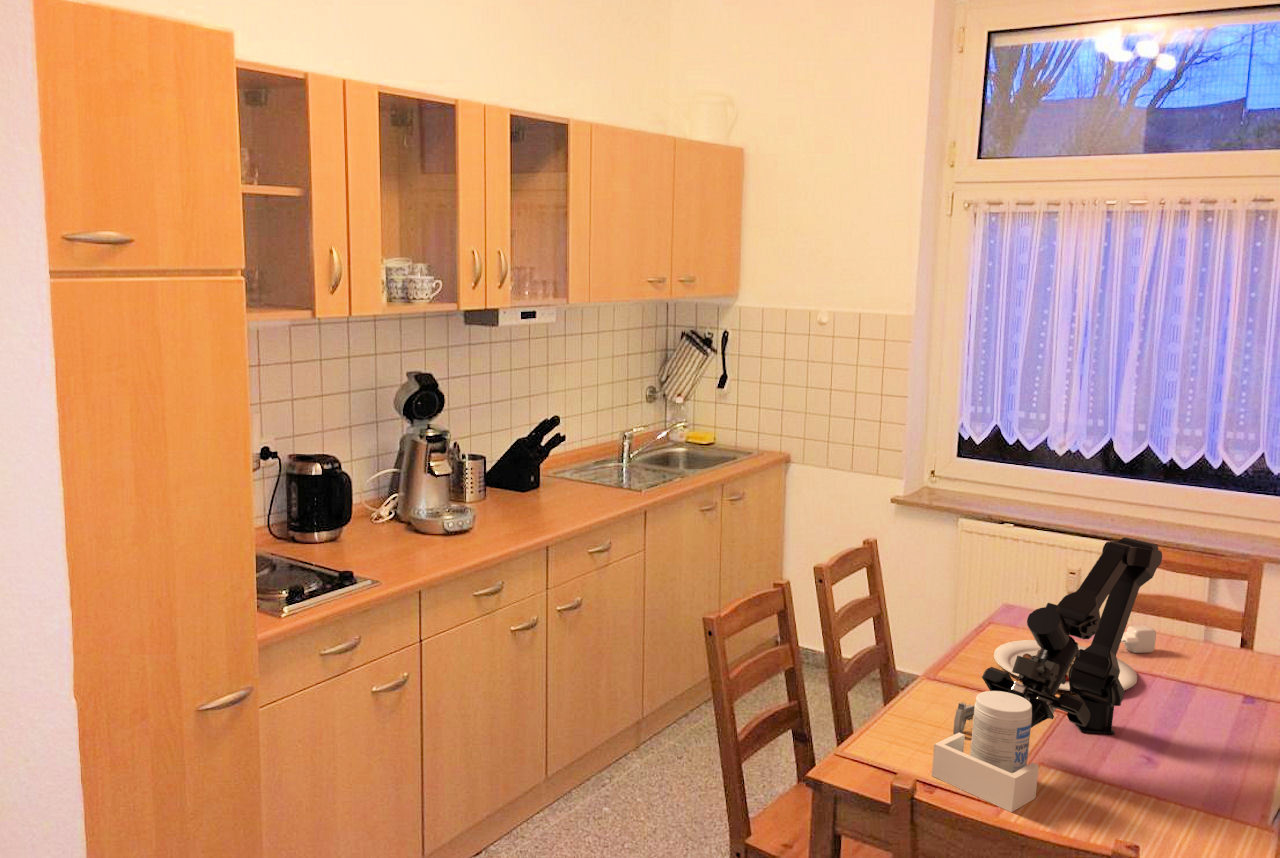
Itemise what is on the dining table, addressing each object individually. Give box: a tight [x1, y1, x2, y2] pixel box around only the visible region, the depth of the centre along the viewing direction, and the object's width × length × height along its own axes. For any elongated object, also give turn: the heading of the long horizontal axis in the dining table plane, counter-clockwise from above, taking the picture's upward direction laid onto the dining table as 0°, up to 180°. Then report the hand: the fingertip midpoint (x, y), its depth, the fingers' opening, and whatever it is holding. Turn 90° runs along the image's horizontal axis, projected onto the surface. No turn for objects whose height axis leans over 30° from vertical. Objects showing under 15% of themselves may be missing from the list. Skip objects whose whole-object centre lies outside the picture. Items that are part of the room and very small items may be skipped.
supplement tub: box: [969, 690, 1032, 773], centre depth 185 cm, size 10×10×15 cm
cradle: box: [931, 732, 1040, 813], centre depth 184 cm, size 8×15×6 cm, turn 41°
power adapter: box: [1120, 624, 1157, 654], centre depth 252 cm, size 11×5×6 cm, turn 103°
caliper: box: [952, 701, 975, 735], centre depth 211 cm, size 21×1×6 cm, turn 141°
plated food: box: [993, 639, 1138, 692], centre depth 238 cm, size 30×30×3 cm
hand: (1014, 735), depth 189 cm, fingers closed, pressing on supplement tub
